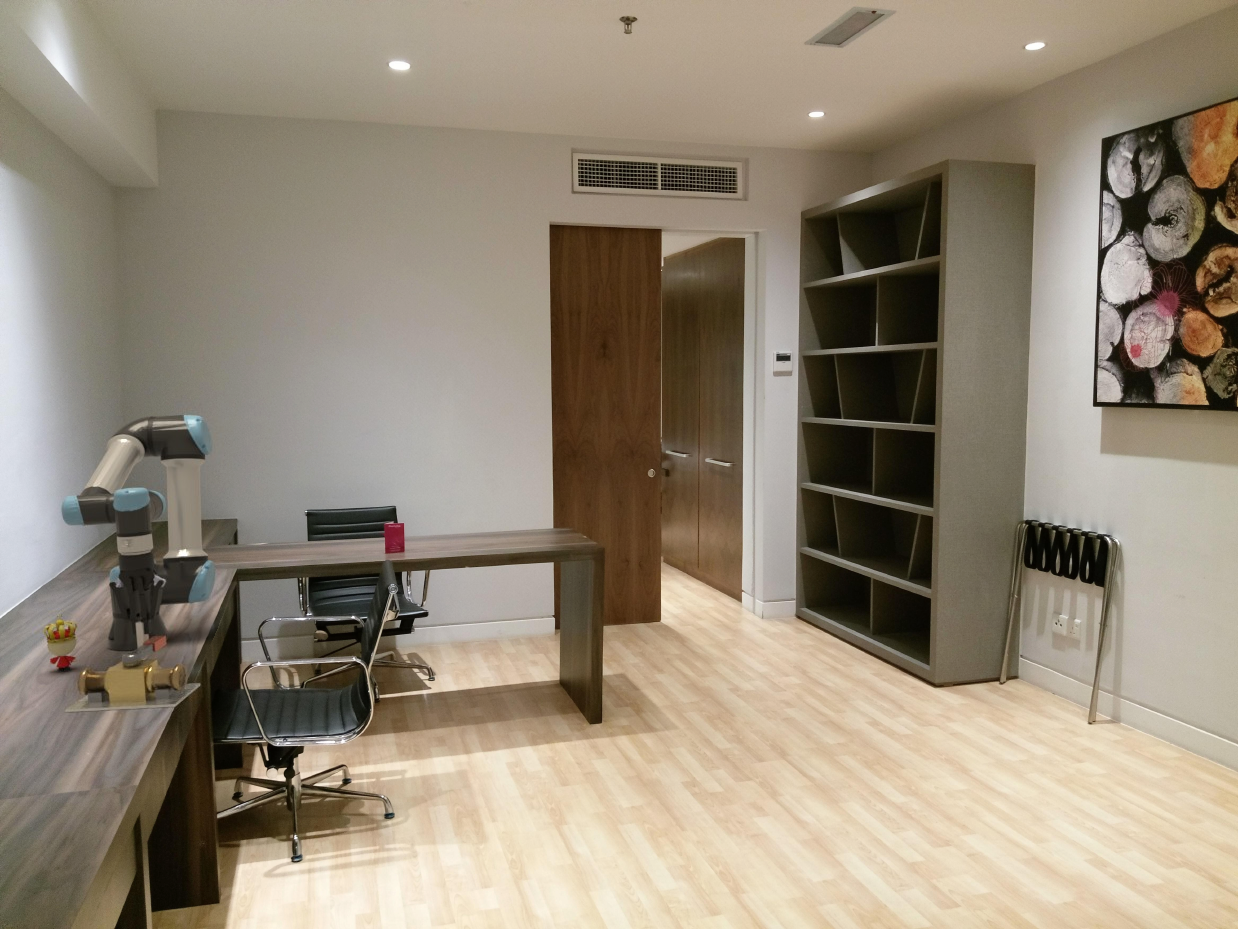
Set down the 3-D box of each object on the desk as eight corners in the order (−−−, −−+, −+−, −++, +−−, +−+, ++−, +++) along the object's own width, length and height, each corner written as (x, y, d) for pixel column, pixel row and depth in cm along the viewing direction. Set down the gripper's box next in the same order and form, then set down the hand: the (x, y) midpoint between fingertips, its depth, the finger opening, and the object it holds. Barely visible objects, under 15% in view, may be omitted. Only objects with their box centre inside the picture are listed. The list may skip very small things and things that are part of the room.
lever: (137, 666, 202) (136, 656, 202) (119, 666, 202) (118, 657, 202) (168, 644, 219) (168, 635, 219) (152, 645, 219) (151, 636, 218)
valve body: (65, 712, 197) (62, 677, 197) (97, 690, 211) (95, 658, 211) (175, 706, 199) (172, 672, 198) (200, 685, 213) (197, 653, 212)
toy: (85, 665, 231) (80, 609, 230) (73, 674, 224) (67, 616, 223) (55, 667, 230) (50, 611, 229) (42, 676, 223) (37, 618, 222)
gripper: (99, 556, 209) (108, 653, 211) (156, 554, 209) (163, 650, 212) (116, 550, 216) (123, 643, 218) (170, 548, 217) (177, 641, 219)
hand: (143, 647), depth 215 cm, fingers closed
